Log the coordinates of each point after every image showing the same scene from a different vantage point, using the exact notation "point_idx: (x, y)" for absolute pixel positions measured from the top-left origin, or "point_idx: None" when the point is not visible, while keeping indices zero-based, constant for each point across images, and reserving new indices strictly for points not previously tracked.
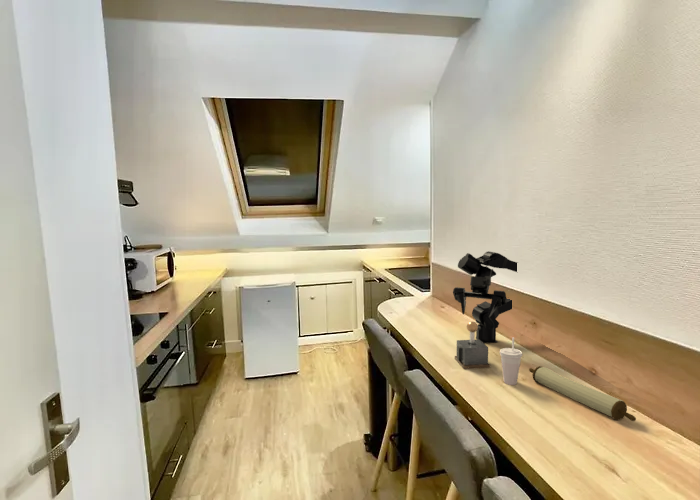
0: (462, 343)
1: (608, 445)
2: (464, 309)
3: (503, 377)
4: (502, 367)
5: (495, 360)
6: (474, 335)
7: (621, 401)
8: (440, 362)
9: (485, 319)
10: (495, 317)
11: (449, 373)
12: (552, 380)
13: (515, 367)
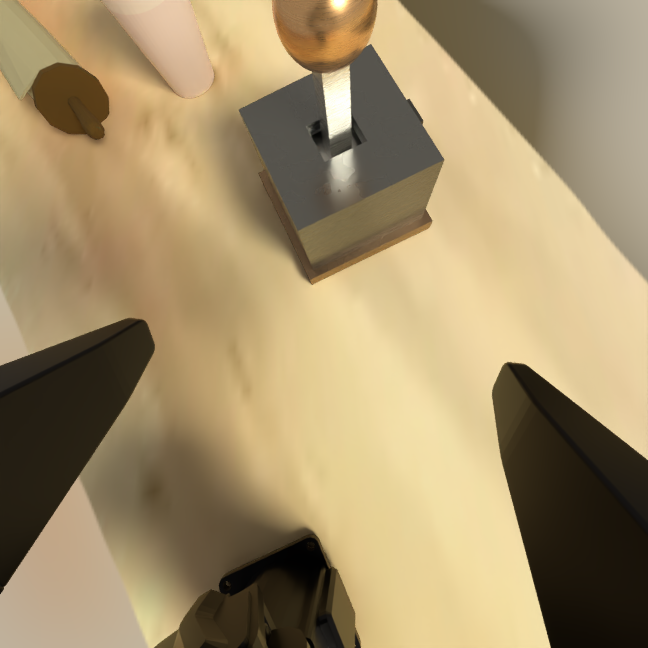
0: (395, 115)
1: None
2: (526, 470)
3: (207, 53)
4: (191, 4)
5: (239, 275)
6: (313, 76)
7: None
8: (485, 159)
9: (236, 633)
10: None
11: (418, 65)
12: (36, 23)
13: None
